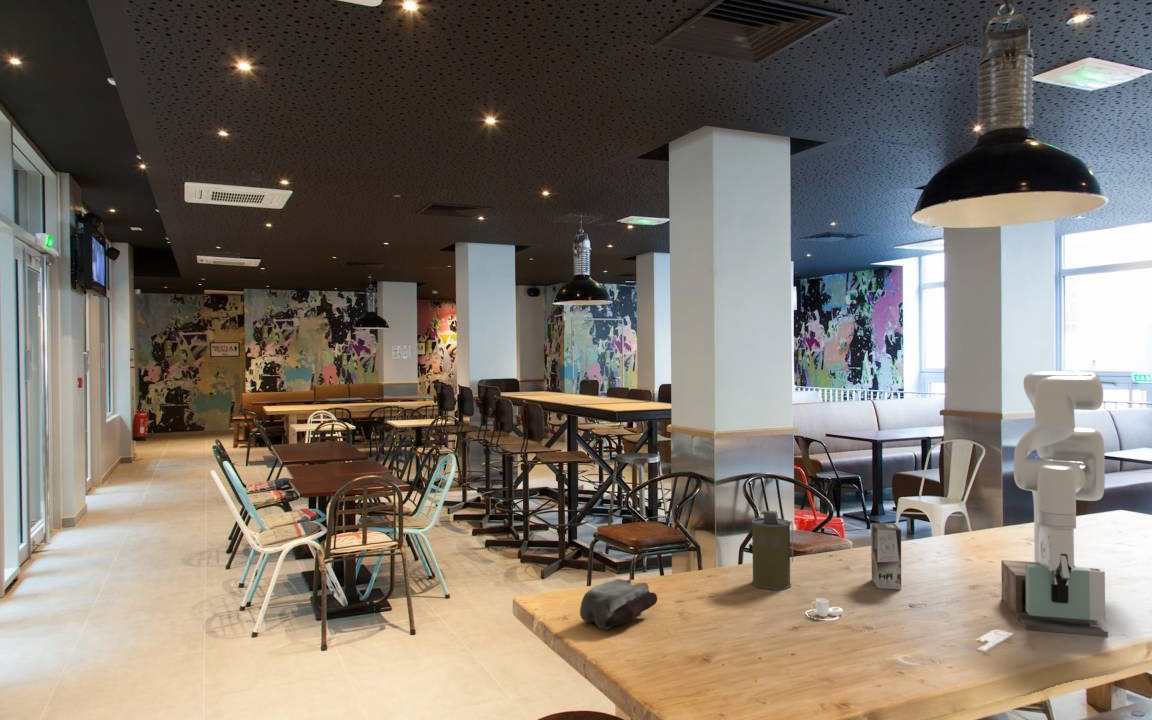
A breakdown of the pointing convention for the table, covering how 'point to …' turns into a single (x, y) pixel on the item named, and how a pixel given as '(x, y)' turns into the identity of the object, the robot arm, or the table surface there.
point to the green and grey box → (1082, 593)
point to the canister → (771, 551)
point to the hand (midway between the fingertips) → (1057, 599)
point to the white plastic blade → (993, 639)
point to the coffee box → (886, 555)
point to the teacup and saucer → (825, 609)
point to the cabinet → (1017, 604)
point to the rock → (616, 602)
